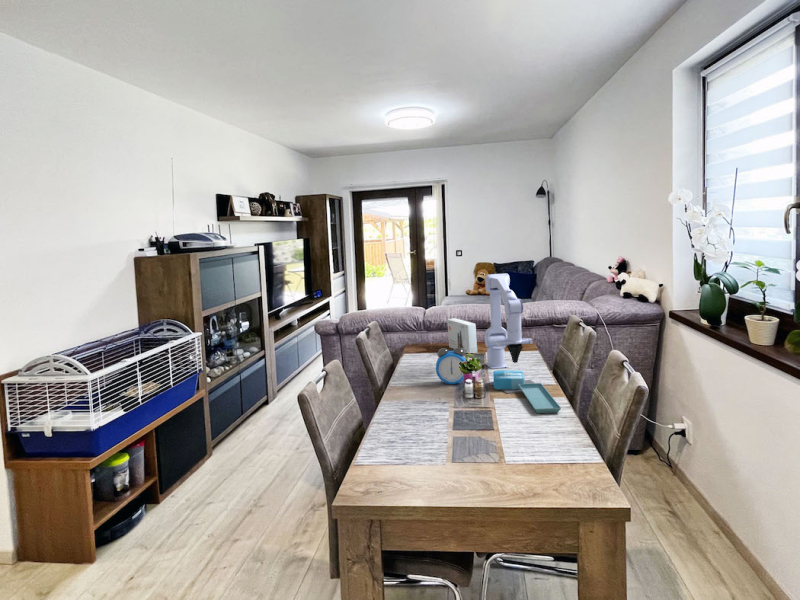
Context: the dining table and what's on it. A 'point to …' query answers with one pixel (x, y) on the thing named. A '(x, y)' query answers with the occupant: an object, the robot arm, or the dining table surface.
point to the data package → (508, 379)
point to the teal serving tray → (539, 398)
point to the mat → (516, 389)
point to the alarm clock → (450, 365)
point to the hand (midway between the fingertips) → (515, 362)
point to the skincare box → (462, 335)
